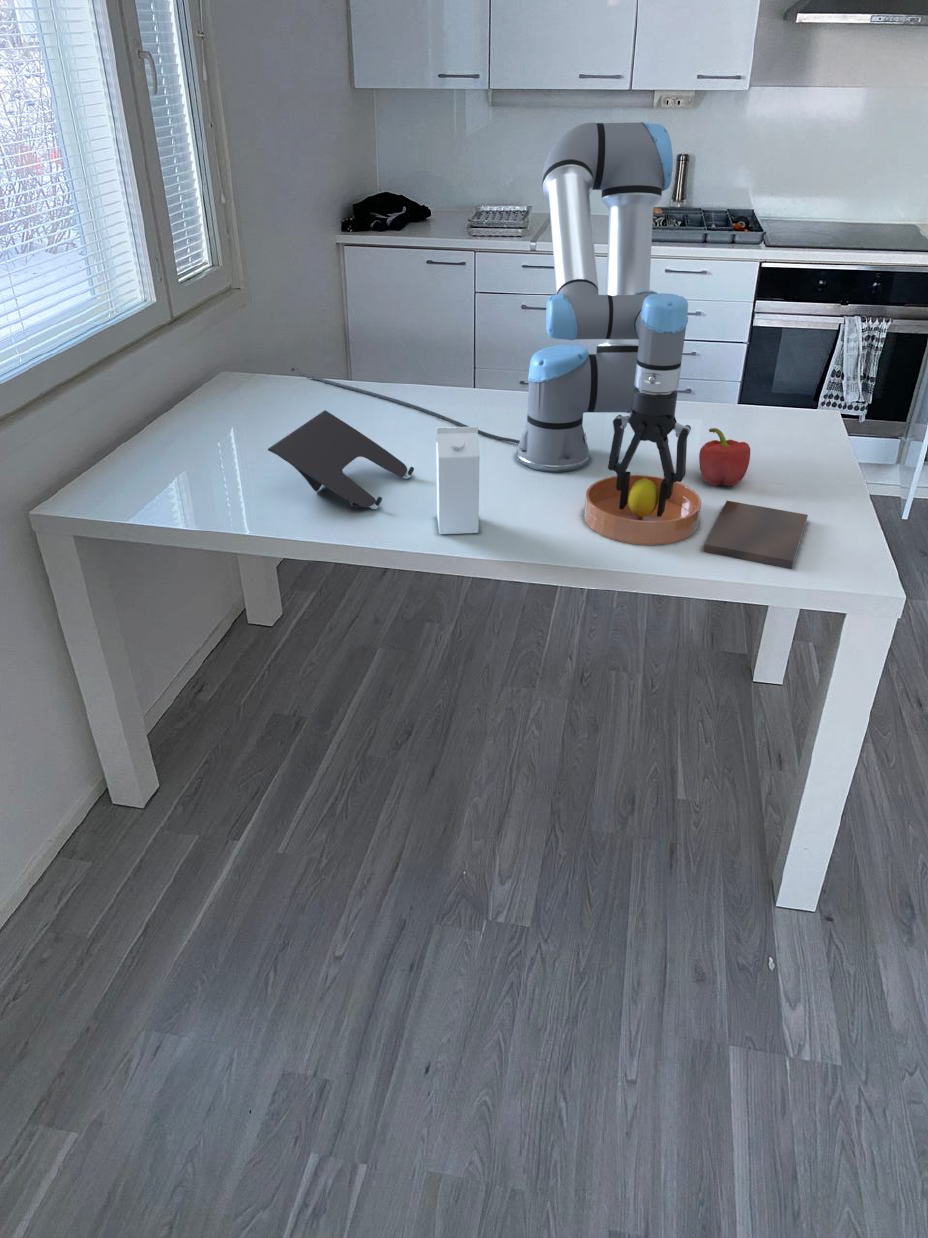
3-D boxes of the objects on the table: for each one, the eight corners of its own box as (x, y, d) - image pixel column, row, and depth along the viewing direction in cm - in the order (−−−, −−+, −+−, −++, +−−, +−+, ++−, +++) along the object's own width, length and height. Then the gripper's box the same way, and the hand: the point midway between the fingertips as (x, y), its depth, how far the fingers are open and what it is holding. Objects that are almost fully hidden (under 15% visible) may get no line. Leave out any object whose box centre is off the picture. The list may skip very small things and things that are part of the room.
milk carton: (437, 518, 175) (435, 420, 165) (474, 516, 176) (476, 419, 166) (439, 535, 169) (438, 435, 159) (478, 533, 170) (479, 434, 160)
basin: (569, 531, 171) (570, 509, 168) (603, 488, 187) (605, 467, 185) (683, 554, 164) (686, 531, 161) (708, 507, 180) (711, 485, 178)
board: (703, 551, 164) (704, 543, 164) (725, 507, 180) (726, 500, 179) (791, 568, 159) (793, 561, 159) (806, 521, 175) (808, 514, 174)
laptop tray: (356, 542, 179) (373, 506, 174) (256, 477, 180) (271, 439, 174) (404, 495, 198) (421, 462, 192) (313, 436, 198) (328, 401, 193)
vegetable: (682, 475, 193) (689, 429, 188) (724, 468, 197) (731, 422, 191) (714, 495, 185) (722, 447, 179) (757, 487, 188) (766, 440, 183)
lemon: (655, 525, 172) (660, 485, 168) (625, 522, 173) (629, 482, 169) (656, 512, 177) (661, 473, 173) (626, 510, 178) (630, 471, 174)
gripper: (595, 387, 163) (585, 508, 175) (707, 403, 156) (688, 527, 168) (608, 375, 168) (597, 493, 181) (716, 390, 162) (698, 511, 174)
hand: (641, 509), depth 174 cm, fingers open, 6 cm apart
